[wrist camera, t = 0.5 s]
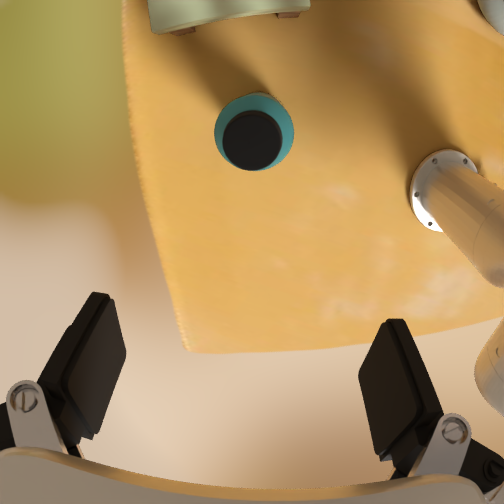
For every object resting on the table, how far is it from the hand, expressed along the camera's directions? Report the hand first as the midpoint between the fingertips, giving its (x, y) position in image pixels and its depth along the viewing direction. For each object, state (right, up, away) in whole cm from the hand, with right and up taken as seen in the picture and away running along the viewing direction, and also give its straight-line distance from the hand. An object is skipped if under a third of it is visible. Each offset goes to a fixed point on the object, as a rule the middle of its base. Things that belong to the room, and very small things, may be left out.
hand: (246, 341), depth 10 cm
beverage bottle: (+1, +20, +26) cm, 33 cm away
